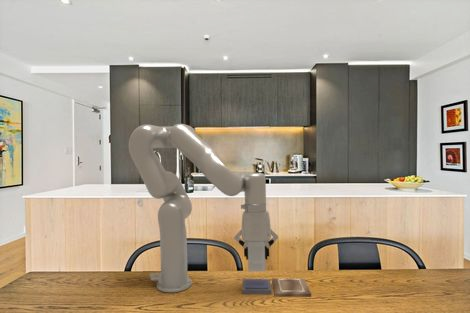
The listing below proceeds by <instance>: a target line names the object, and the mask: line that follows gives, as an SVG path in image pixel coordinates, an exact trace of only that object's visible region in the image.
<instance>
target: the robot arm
mask: <svg viewBox="0 0 470 313" xmlns="http://www.w3.org/2000/svg"><path fill="white" fill-rule="evenodd" d="M168 148H169V149H173V148H175V149H177V150H178V151H179V152H181V154H183V155H184V156H185V157H186V158H187V159H188V160H189V161H190V162H191V163H193V165H195V166H196V168H197V169H198V171H200V172H201V173H202V174H203V176H204V178H206V179H207V180H208V182H210V183H211V184H212V185H213V186H214V187H216V189H217V190H219V191H220V193H222V194H224V195H225V196H228V197H235V196H237V195H239V194H240V193H244V204H240V209H241V210H242V209H243V210H244V211H243V212H242V217H241V229H240V230H239V231H238V232H237V233H236V234H235V235H234V240H235V241H236V242H238V243H239V245H240V246H242V247H243V257H244V258H245V260H246V261H248V242H258V241H265V261H267V260H268V257H270V248H271V246H272V245H274V243H275V242H276V241H277V240H278V239H279V235H278V234H277V233H276V232H275V231H274V230H273V229H271V228H272V227H271V220H270V214H269V213H270V212H269V211H268V210H267V190H266V188H267V185H266V184H267V183H266V176H265V174H264V173H262V172H249V173H243V172H235V171H234V172H233V171H231V169H229V168H228V167H227V166H226V165H225V164H224V163H223V162H222V161H221V160H220V159H219V157H218V156H217V154H216V152H215V150H214V149H213V148H212V147H211V146H210V145H209V144H208V142H206V141H205V140H203V139H202V138H201V137H200V136H199V135H198V133H197V132H196V130H195V129H194V128H193V127H192V126H191V125H188V124H184V123H176V124H174V125H173V126H158V125H154V124H142V125H139V126H138V127H136V128H135V129H134V130H133V131H132V133H131V135H130V137H129V139H128V152H129V155H130V157H131V159H132V162H133V163H134V165H135V167H136V169H137V171H138V173H139V176H140V177H141V179H142V181H143V184H144V185H145V187H146V189H147V191H148V193H149V194H150V196H151V197H152V198H154V199H158V200H159V199H160V200H161V199H162V200H163V202H162V204H161V205H160V207H159V209H158V211H157V222H158V227H159V228H158V229H159V244H160V245H159V246H160V247H159V248H160V249H159V250H160V272H158V273H157V272H151V273H150V274H149V279H150V281H152V282H155V281H157V282H156V288H157V290H159V291H160V292H163V293H179V292H182V291H186V290H187V289H189V288H190V287H191V286H192V285H193V280H192V279H191V278H190V277H189V276H188V244H187V243H188V241H187V240H188V238H187V237H188V236H187V235H188V234H187V229H186V228H187V227H186V223H185V222H186V219H187V218H188V217H189V216H190V215H191V214H192V211H193V206H192V201H191V200H190V197H189V196H188V194H187V191H186V190H185V187H184V186H183V183H182V181H181V180H180V178H179V177H178V175H176V174H175V173H173V172H172V171H169V170H165V168H164V166H163V164H162V162H161V160H160V158H159V157H158V155H157V154H156V152H155V151H154V149H168ZM240 237H241V238H240ZM271 237H272V238H271Z"/></svg>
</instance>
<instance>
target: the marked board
mask: <svg viewBox="0 0 470 313" xmlns="http://www.w3.org/2000/svg"><path fill="white" fill-rule="evenodd" d="M271 281H272V282H271V283H272V286H273V292H274V297H296V298H297V297H298V298H299V297H304V298H305V297H306V298H307V297H312V292H311V290H310V287H309V286H308V283H307V281H306V278H272V280H271Z"/></svg>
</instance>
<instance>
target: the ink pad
mask: <svg viewBox="0 0 470 313" xmlns="http://www.w3.org/2000/svg"><path fill="white" fill-rule="evenodd" d="M241 286H242V287H241V291H242V295H272V294H273V292H272V282H271V279H269V278H242V285H241Z"/></svg>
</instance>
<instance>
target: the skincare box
mask: <svg viewBox="0 0 470 313" xmlns="http://www.w3.org/2000/svg"><path fill="white" fill-rule="evenodd" d="M247 247H248V260H247V262H248V263H247V265H248V268H247V269H248V272H266V267H267V266H266V259H265V241H258V242H248V245H247Z"/></svg>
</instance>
